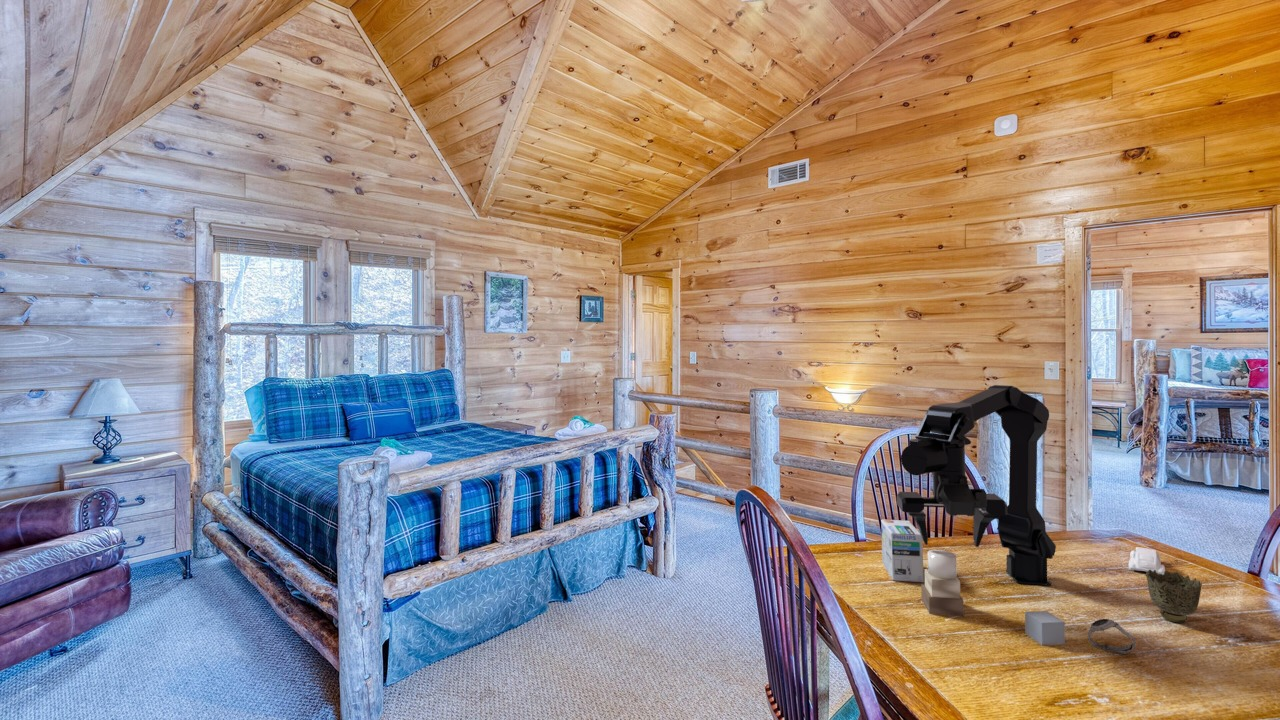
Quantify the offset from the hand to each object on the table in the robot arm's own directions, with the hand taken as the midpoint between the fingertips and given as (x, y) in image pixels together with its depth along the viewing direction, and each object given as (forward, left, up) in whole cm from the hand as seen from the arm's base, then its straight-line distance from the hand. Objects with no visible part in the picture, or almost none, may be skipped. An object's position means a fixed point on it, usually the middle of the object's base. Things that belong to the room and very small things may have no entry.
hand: (950, 545), depth 110 cm
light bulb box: (+6, -15, -12) cm, 20 cm away
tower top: (+2, +2, -9) cm, 9 cm away
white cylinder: (+2, +2, -5) cm, 6 cm away
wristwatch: (-21, +13, -12) cm, 27 cm away
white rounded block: (-48, -28, -13) cm, 58 cm away
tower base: (+2, +2, -12) cm, 13 cm away
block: (-12, +11, -12) cm, 20 cm away
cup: (-38, -1, -12) cm, 40 cm away
